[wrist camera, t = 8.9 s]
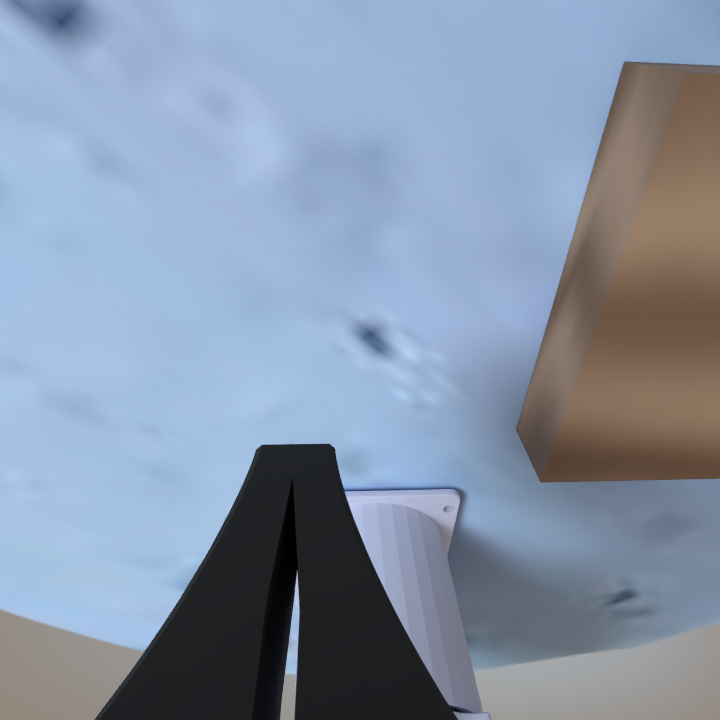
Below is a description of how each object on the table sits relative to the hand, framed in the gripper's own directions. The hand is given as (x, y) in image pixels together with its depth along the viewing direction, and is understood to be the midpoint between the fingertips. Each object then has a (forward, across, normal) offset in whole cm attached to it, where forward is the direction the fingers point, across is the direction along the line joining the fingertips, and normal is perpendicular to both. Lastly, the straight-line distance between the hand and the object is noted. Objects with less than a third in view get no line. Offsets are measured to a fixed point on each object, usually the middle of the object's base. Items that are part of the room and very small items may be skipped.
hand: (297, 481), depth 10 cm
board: (+9, -15, 0) cm, 18 cm away
